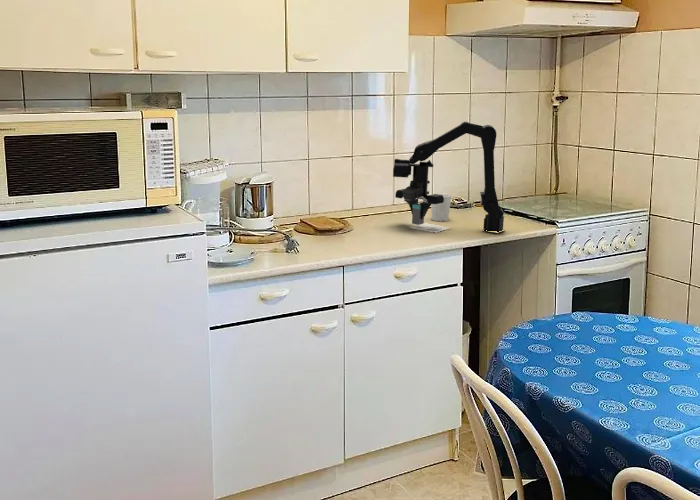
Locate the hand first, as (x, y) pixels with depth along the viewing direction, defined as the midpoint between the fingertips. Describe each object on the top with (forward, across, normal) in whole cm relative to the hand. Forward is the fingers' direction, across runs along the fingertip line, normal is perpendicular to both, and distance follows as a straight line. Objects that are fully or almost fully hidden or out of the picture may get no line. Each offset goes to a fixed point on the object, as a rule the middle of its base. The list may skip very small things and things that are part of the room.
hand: (418, 218), depth 293 cm
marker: (+2, 0, 0) cm, 2 cm away
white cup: (+4, -2, +18) cm, 19 cm away
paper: (+4, +4, +2) cm, 6 cm away
